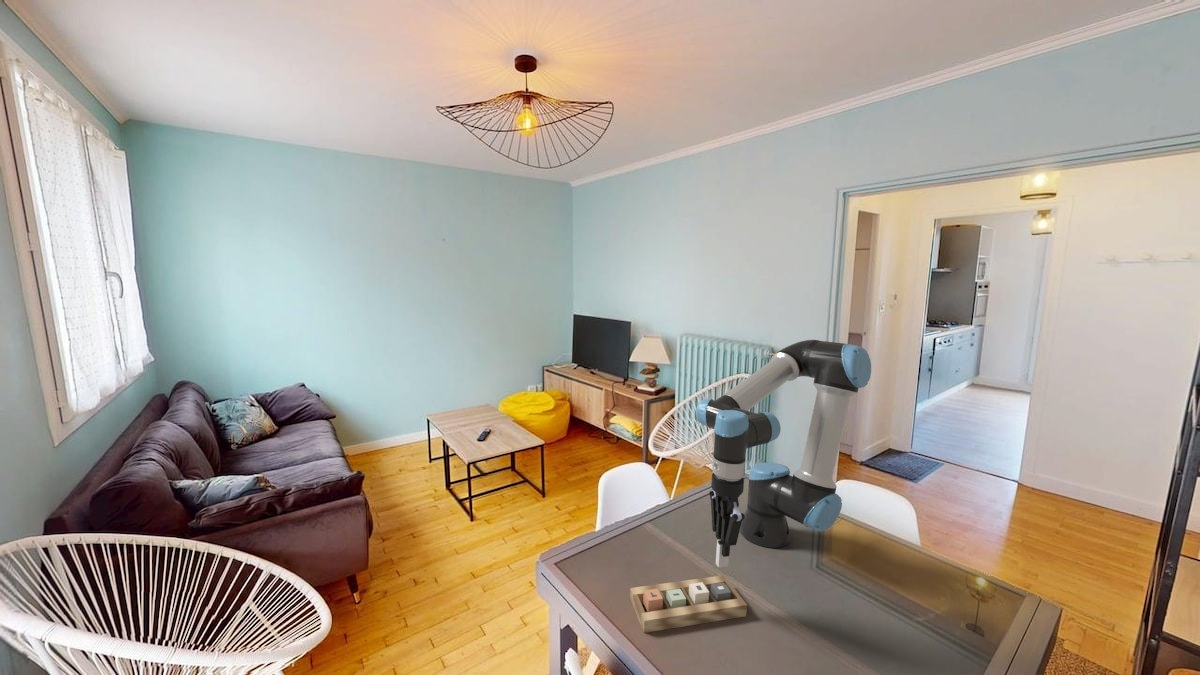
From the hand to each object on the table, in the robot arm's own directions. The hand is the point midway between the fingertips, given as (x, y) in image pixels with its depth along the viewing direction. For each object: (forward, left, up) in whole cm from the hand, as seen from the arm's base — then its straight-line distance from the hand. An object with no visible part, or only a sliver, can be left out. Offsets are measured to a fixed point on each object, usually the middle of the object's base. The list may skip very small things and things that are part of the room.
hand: (721, 564), depth 110 cm
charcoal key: (0, 0, -10) cm, 10 cm away
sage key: (+12, 0, -10) cm, 15 cm away
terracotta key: (+18, 0, -9) cm, 20 cm away
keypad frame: (+9, 0, -10) cm, 14 cm away
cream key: (+6, 0, -9) cm, 10 cm away
